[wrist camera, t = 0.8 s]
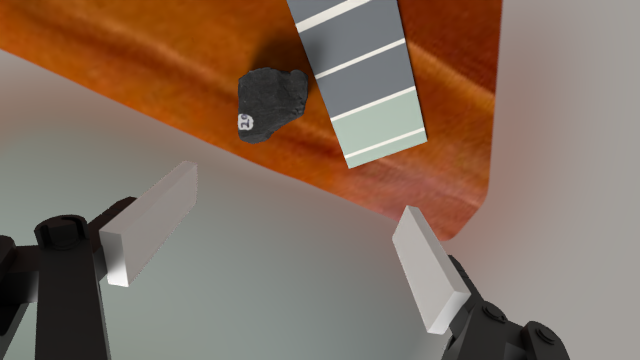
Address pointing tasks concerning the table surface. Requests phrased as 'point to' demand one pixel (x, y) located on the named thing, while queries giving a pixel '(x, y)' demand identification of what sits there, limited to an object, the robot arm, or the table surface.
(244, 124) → the rock
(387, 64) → the lane
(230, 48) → the table surface
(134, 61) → the table surface
